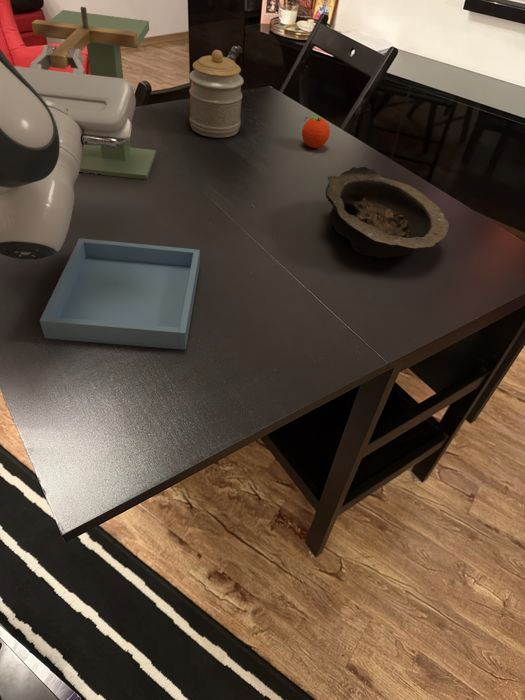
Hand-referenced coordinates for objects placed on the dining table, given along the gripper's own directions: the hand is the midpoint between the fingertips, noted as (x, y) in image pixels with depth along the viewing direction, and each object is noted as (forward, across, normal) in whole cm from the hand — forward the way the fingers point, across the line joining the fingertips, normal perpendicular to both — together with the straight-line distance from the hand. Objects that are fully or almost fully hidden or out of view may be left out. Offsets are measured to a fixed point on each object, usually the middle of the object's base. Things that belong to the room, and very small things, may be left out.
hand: (64, 50), depth 64 cm
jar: (+31, -17, +52) cm, 63 cm away
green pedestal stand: (+10, +3, +40) cm, 41 cm away
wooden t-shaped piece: (+3, 0, +3) cm, 4 cm away
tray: (-28, -9, +18) cm, 35 cm away
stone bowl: (-7, -53, +31) cm, 62 cm away
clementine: (+27, -42, +50) cm, 71 cm away
